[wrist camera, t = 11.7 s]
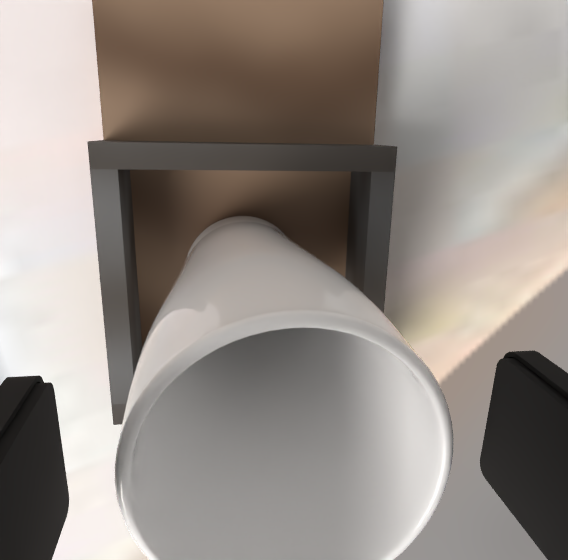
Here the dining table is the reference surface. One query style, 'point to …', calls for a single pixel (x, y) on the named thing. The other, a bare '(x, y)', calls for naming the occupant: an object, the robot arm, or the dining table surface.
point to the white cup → (277, 413)
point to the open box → (233, 144)
